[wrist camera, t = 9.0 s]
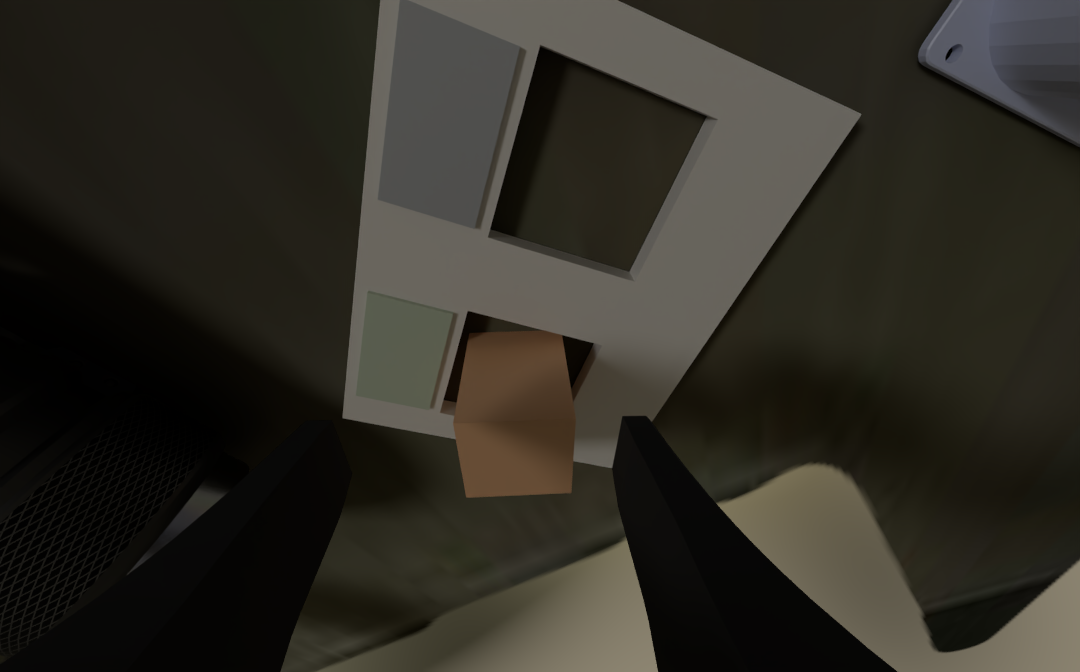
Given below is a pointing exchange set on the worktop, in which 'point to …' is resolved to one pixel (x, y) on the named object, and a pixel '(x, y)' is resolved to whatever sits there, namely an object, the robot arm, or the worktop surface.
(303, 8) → the worktop surface
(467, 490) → the plug
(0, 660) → the olive rounded pillar
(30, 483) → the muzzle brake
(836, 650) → the robot arm
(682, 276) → the panel
